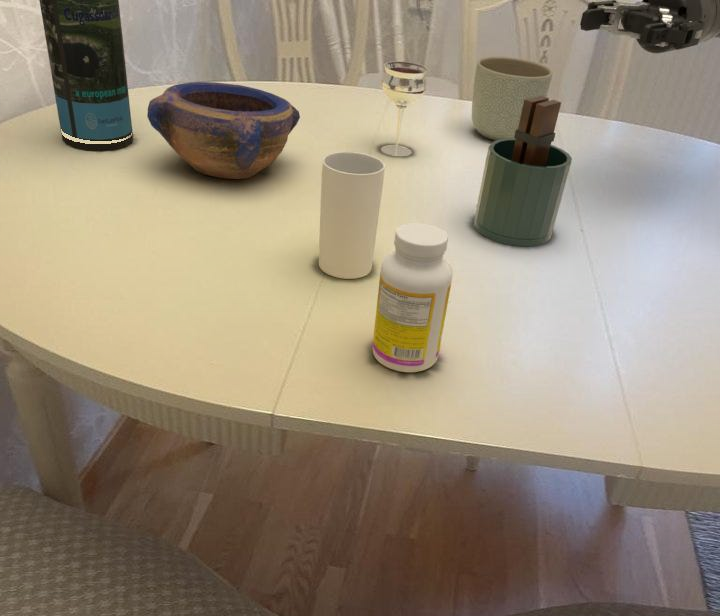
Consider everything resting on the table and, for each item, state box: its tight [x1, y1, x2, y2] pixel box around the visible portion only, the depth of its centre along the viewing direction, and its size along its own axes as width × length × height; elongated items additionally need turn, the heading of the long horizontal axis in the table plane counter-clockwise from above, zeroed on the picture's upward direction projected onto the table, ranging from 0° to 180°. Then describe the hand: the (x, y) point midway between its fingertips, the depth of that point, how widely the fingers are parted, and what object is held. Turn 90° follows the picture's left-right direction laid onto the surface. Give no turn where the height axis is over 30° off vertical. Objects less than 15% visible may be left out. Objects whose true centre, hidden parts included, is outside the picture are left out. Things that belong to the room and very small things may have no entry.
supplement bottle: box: [372, 222, 453, 373], centre depth 71 cm, size 7×7×13 cm
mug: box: [318, 151, 386, 280], centre depth 86 cm, size 10×7×12 cm, turn 157°
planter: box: [471, 55, 553, 141], centre depth 127 cm, size 12×12×11 cm
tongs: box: [511, 96, 562, 167], centre depth 96 cm, size 4×4×15 cm
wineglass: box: [380, 60, 429, 157], centre depth 116 cm, size 7×7×12 cm
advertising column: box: [38, 0, 134, 153], centre depth 102 cm, size 11×11×30 cm
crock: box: [473, 138, 573, 247], centre depth 98 cm, size 10×10×10 cm
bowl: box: [146, 81, 301, 180], centre depth 105 cm, size 18×18×10 cm
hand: (613, 28), depth 93 cm, fingers open, 8 cm apart
